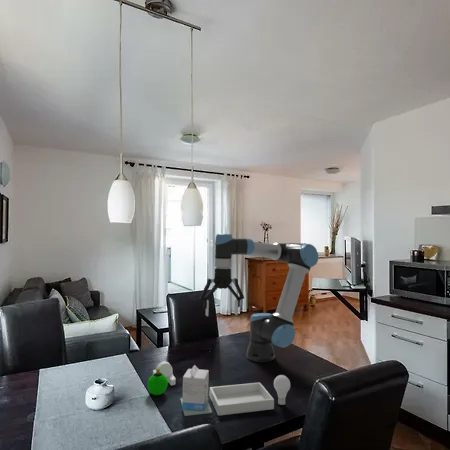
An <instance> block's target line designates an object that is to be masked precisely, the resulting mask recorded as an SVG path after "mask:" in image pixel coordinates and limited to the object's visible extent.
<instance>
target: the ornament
mask: <svg viewBox="0 0 450 450" xmlns="http://www.w3.org/2000/svg"><path fill="white" fill-rule="evenodd" d="M155 370H157V372H156V373H155V374H153V373H152V374H151V376H150V377H149V378H148V380H147V387H146V388H147V389H148V392H149V393H151V394H152V395H154V396H160V395H163V393H165V392H166V390H167V388H168V386H169V382H168V381H167V378H166V376H165V375H164V374H162V373H160V372H159V371H160V369H159V368H158V369H156V368H155Z"/></svg>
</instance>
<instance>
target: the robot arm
mask: <svg viewBox="0 0 450 450" xmlns="http://www.w3.org/2000/svg"><path fill="white" fill-rule="evenodd" d="M214 246H215V247H214V249H215V250H214V277H213V278H207V279H206V284H205V285H204V288H203V290H202V292H201V293H200V296H199V299H200V300H201V301H203V309H205V316H206V317H209V312H210V311H209V310H210V309H209V307H210V305H209V304H210V302H209V299H210V298H211V296H212V295H213V294H214V293H215V292H216V290H217V289H219V290H221V289H225V290H226V289H228V290H229V291H230V293H231V294H232V295H233V296H234V298H235V299H234V315H235V316H239V315H238V314H239V308H240V307H241V300H243V299H245V296H244V294H243V291H242V289H241V288H240V287H241V286H240V285H239V280H238V278H236V277H234V278H232V269H231V268H232V257H233V256H234V255H237V256H238V255H243V256H250V257H251V256H252V257H260V258H267V259H269V258H270V259H271V260H272V261H279V262H282V263H285V264H287V266H288V267H289V269H288V273H287V275H286V279H285V282H284V285H283V287H282V291H281V294H280V296H279V300H278V304H277V306H276V310H275V312H273V313H268V312H261V313H260V312H259V313H253V314H251V316H250V320H249V322H250V323H249V324H250V325H249V344H248V346H247V350H246V359H248V360H249V361H251V362H255V363H270V361H271V362H273V361H275V359H276V358H275V357H276V355H275V350H274V346H275V347H280V348H283V349H284V348H286V347H289V346H290V345H291V344H292V343H293V342H294V340H295V337H296V330H295V328H294V319H293V315H294V313H295V309H296V306H297V304H298V300H299V296H300V295H301V294H300V292H301V289H302V286H303V285H304V281H305V277H306V275H307V274H308V273H310V271H311V268H312V267H314V266H316V265H317V263H318V261H319V252H318V249H317V248H316V247H315V246H314V245H313V244H311V243H306V242H304V243H300V242H299V243H296V242H285V243H284V242H283V243H279V242H278V243H277V242H273V243H265V242H258V241H254V240H253V239H251V238H238V237H237V238H233V235H232V234H231V233H217V234H216V236H215V242H214ZM232 255H233V256H232ZM213 283H214V285H213V286H212V287H211V285H212V284H213ZM232 283H233V284H234V286H235V288H236V291H237V292H236V291H235V290H234V289H233V287H232V286H231V284H232ZM210 287H211V289H210V290H209V288H210ZM208 290H209V292H208ZM274 358H275V359H274ZM272 360H273V361H272Z"/></svg>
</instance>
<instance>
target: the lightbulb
mask: <svg viewBox="0 0 450 450" xmlns="http://www.w3.org/2000/svg"><path fill="white" fill-rule="evenodd" d="M273 387H274V389H275V391H276V393H277V398H278V399H277V400H278V401H277V403H278V405H280V406H284V405H286V397H287V394H288V392H289V391H290V389H291V381H290V379H289V378H288V377H287V376H286V375H285V374H279V375H277V376H276V377H274V380H273Z"/></svg>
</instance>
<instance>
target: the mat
mask: <svg viewBox="0 0 450 450" xmlns="http://www.w3.org/2000/svg"><path fill="white" fill-rule="evenodd" d="M179 399H180V404H181V405H182V397H180V398H179ZM182 411H183V415H184V416H185V417H187V416H196V415H203V414H212V413H213V410H212V407H211V406H210V403H209V401H208V402H207V404H206V407H205V410H204V411H197V410H184V409H182Z"/></svg>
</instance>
